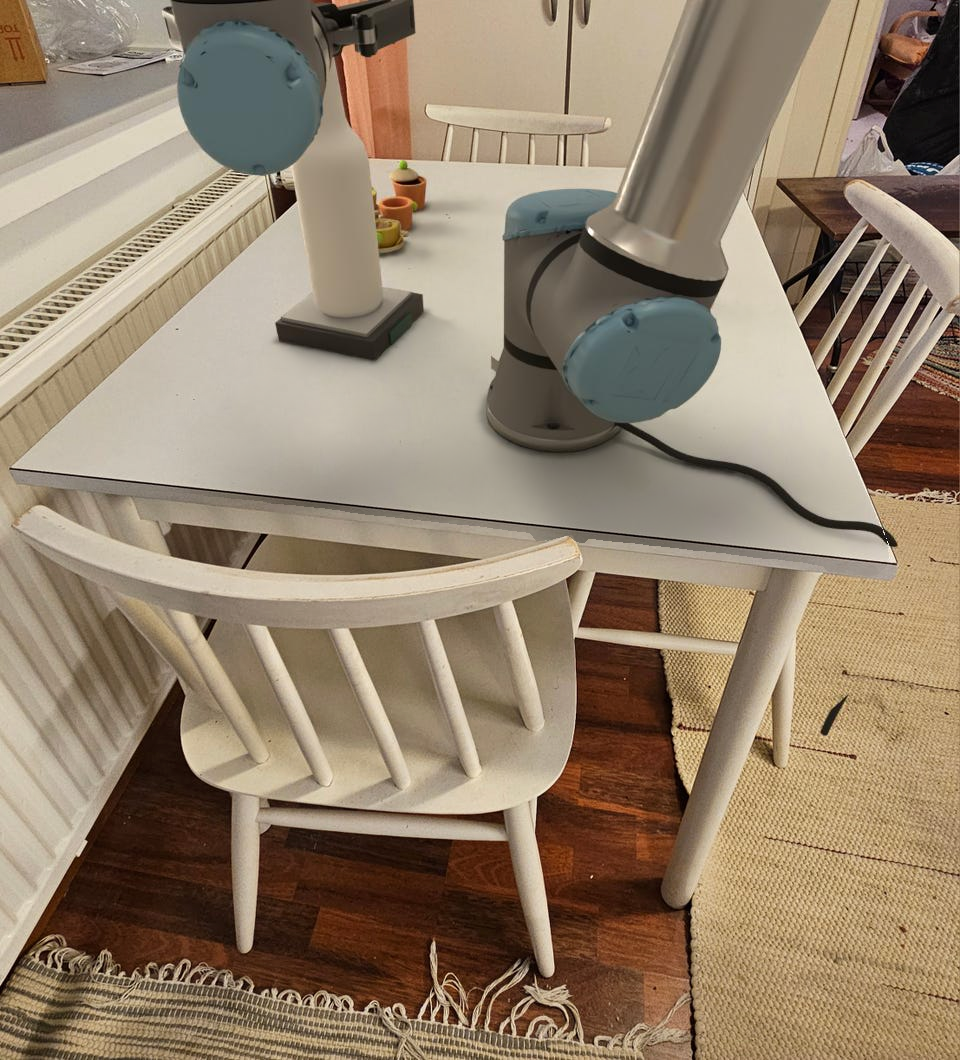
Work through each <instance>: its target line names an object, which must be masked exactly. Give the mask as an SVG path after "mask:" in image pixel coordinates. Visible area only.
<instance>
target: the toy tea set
mask: <svg viewBox="0 0 960 1060" xmlns="http://www.w3.org/2000/svg"><path fill="white" fill-rule="evenodd" d="M408 165H409V164H408V162H407V161H406V160H404V159H403V160H400V161H399V162H398V167H399V168H396V169H394V170H392V171H391V173H390V174H389V176H388V177H389V180H391V181H392V185H393V189H394V194H395V196H389V197H385V198H382V199H381V200H379V201H378V203H377V198H378V197H377V194H378V193H377V190H376V189H375V188H374V187H373V186H372V194H373V204H374V213H375V217H377V216H378V218H375V222H376V232H377V241H378V251H379V254H386V253H392V252H395V251H398V250H399V249H401V248H402V247H404V245H405V239H404V238H409V236H410V232H409V231H408V230H409V229H410V228H411V227H412V226H413V212H416V211H419V210H422V209H423V208H424V207H425V205H426V192H427V179H426V177H424V176H422V175H419V174H418V172H417V171H416V170H415V169H413V168H410V167H408Z"/></svg>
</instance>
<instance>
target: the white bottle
mask: <svg viewBox="0 0 960 1060" xmlns="http://www.w3.org/2000/svg"><path fill="white" fill-rule="evenodd" d="M320 123H321V125H320V127H319V128H318V133H317V134H316V135H315V136H314V140H313V142H312V143H311V144H310V145H309V146H308V148H307V150H306V151H305V152H304V154H303V155H302V157H301V158H300V159H299V160H298V161H297V162H295V163H294V164H293V165H291V166H290V167H291V173H292V179H293V184H294V191H295V197H296V202H297V209H298V214H299V219H300V226H301V232H302V236H303V243H304V248H305V255H306V260H307V265H308V266H307V267H308V272H309V278H310V284H311V289H312V292H313V296H314V301H315V304H316V305H317V306H318V308H319V309H320V310H321V311H322V312H323V313H325V314H327V315H329V316H333V317H338V318H352V317H358V316H363V315H366V314H368V313H371V312H373V311H374V310H375V309H377V307H378V306H379V304H380V302H381V300H382V298H383V289H382V287H383V281H382V271H381V261H380V253H379V251H378V241H377V232H376V222H375V219H376V216H375V213H374V204H373V194H372V187H373V185H372V177H371V166H370V158H369V155H368V152H367V149H366V146H365V143H364V142H363V140H362V138H361V137H360V136H359V135H358V134H357V133H356V132H355V130H353V128H352V127H351V126H350V123H349V122H348V119H347V117H346V112H345V107H344V101H343V96H342V91H341V86H340V82H339V75H338V71H337V64H336V60H335V57H332V63H331V67H330V72H329V78H328V81H327V85H326V89H325V93H324V98H323V116H322V117H321V122H320Z"/></svg>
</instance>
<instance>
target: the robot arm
mask: <svg viewBox="0 0 960 1060" xmlns="http://www.w3.org/2000/svg"><path fill="white" fill-rule="evenodd" d="M169 1H170V5H169V6H165V7H163V8H161V13H162V17H163V20H164V25H165V29H166V31H167V37H168V40H169V44H170V46H171V47H173V48H175V49H176V50H178V51H180V52H182V58H181V60H180V64H179V66H178V69H179V72H178V77H177V83H176V94H177V103H178V108H179V111H180V114H181V117H182V120H183V123H184V125H185V126H186V127H185V128H186V129H187V130H188V133H189V134H190V136H191V137H192V139H193V140H194V141H195V143H196V144H197V145H198V146H199V148H200V149H201V150H202V151H203V152H204V153H205V154H206V155H207V156H209V158H211V159H212V160H213V161H215V162H217V163H218V165H221V166H223V167H225V168H226V169H229V170H231V171H234V172H237V173H239V174H243V175H249V176H260V177H265V176H269V175H274V174H277V173H280V172H282V171H285V170H286V169H289V168H290V167H291V165H293V164H294V163H295V162H297V161H298V160H299V159H300V158H301V157H302V155H303V154H304V152H305V151H306V150H307V148H308V146H309V145H310V144H311V143H312V142H313V140H314V136H315V135H316V134H317V133H318V128H319V127H320V125H321V123H320V122H321V117H322V116H323V98H324V93H325V89H326V85H327V81H328V78H329V72H330V67H331V63H332V57H334V58H335V57H339V56H341V55H342V53H343V51H344V50H343V49H344V48H345V47H348V46H351V45H354V52H355V53H358V54H359V55H360V56H361V57H363V58H371V57H372V56H376V55H377V53H378V51H379V50H381V49H383V48H385V47H388V46H390V45H395V44H396V43H397V42H400V41H402V40H405V39H407V38H408V37H410V36H411V37H412V36H413V35H415V34H416V32H417V31H416V18H415V5H414V4H415V3H414V0H364V1H358V2H354V3H349V4H344V5H340V6H337V4H335V3H333V2H332V3H330V2H317V3H314V1H312V0H169ZM831 1H832V0H686V2H685V4H684V7H683V10H682V13H681V15H680V19H679V21H678V22H677V23H678V24H677V27H676V28H675V32H674V34H673V38H672V40H671V43H670V45H669V49H668V50H667V54H666V57H665V59H664V62H663V65H662V68H661V71H660V73H659V76H658V78H657V82H656V84H655V87H654V90H653V92H652V95H651V99H650V102H649V104H648V106H647V109H646V112H645V115H644V118H643V121H642V123H641V126H640V129H639V132H638V134H637V137H636V139H635V143H634V146H633V148H632V150H631V151H632V152H631V153H630V156H629V160H628V162H627V164H626V168H625V170H624V173H623V176H622V179H621V182H620V184H619V187H618V190H617V192H614V191H611V190H605V189H598V188H597V189H595V188H561V189H559V188H558V189H552V190H550V189H549V190H543V191H537V192H533V193H528V194H526V195H525V194H524V195H523V196H521V197H518V198H517V199H515V200H514V201H513V202H511V203H510V205H509V206H508V207H507V210H506V212H505V221H504V222H505V223H504V233H503V234H502V237H501V238H502V241H503V245H504V246H503V258H504V259H503V348H502V351H501V354H500V357H499V360H498V359H497V358H495V357H493V356H492V355H491V356H490V369H491V370H493V372H495V376H494V377H493V379H492V380H491V382H490V384H489V387H488V389H487V394H486V416H487V419H488V422H489V424H490V425H491V426H492V428H493V429H494V430H495V431H496V432H497V433H498V434H499V435H501V436H502V437H504V438H505V439H507V440H509V441H510V442H512V443H514V444H516V445H519V446H522V447H526V448H528V449H534V450H538V451H545V452H558V453H559V452H574V451H581V450H585V449H586V450H587V449H589V448H593V447H597V446H598V445H601V444H603V443H605V442H607V441H609V440H610V439H612V438H613V437H614V436H615V435H617V434H618V432H619V431H620V430H624V431H626V432H628V433H630V434H631V435H634V436H635V437H637V438H639V439H641V440H642V441H645V442H647V443H648V444H650V445H651V446H653V447H655V448H656V449H658V450H659V451H661V452H662V453H664V454H666V455H668V456H669V457H671V458H673V459H676V460H678V461H681V462H684V463H687V464H690V465H693V466H699V467H704V468H709V469H715V470H716V469H717V470H724V471H729V472H734V473H740V474H742V475H745V476H748V477H750V478H752V479H755V480H757V481H758V482H760V483H762V484H764V485H765V486H766V487H768V488H769V489H770V490H771V491H772V492H774V494H775V495H777V496H778V498H779V499H780V500H781V501H782V502H783V503H784V504H785V505H786V506H787V507H788V508H789V509H790V510H792V511H793V512H794V513H796V514H797V515H798V516H800V517H801V518H803V519H805V520H806V521H808V522H810V523H812V524H814V525H817V526H819V527H823V528H827V529H833V530H843V531H844V530H846V531H861V532H867V533H871V534H874V535H876V536H877V537H879V538H880V540H882V541H883V542H884V543H885V544H886V545H887V546H889V547H891V548H897V547H899V544H898V542H897V541H896V538H895V537H894V536H893V535H892V534H891V533H890V531H888V530H887V529H886V528H884V527H882V526H880V525H877V524H875V523H872V522H867V521H861V520H860V521H859V520H858V521H857V520H842V519H841V520H838V519H830V518H827V517H823V516H820V515H818V514H816V513H814V512H812V511H810V510H809V509H807V508H806V507H805V506H803V505H801V503H799V502H798V501H797V500H796V499H795V498H794V497H792V495H791V494H789V492H787V490H785V488H784V487H783V486H782V485H780V483H778V482H777V481H776V480H774V479H773V478H771V477H770V476H769V475H767V474H765V473H764V472H761V471H759V470H757V469H755V468H752V467H750V466H746V465H744V464H740V463H736V462H730V461H723V460H716V459H711V458H710V459H709V458H703V457H699V456H695V455H691V454H688V453H685V452H682V451H680V450H678V449H675V448H673V447H672V446H670V445H668V444H667V443H665V442H664V441H662V440H660V439H659V438H657V437H655V436H653V435H652V434H650V433H648V432H647V431H645V430H643V429H641V428H640V427H638V426H635V425H633V424H636V423H643V422H646V421H647V422H648V421H650V420H654V419H657V418H660V417H662V416H663V415H664V414H666V413H667V412H668V411H671V410H676V409H678V408H680V407H681V406H683V405H684V404H686V402H688V401H689V400H691V399H692V398H693V397H694V396H695V395H696V394H697V393H698V392H699V391H700V390H701V389H702V388H703V387H704V385H705V384H706V383H707V382H708V380H709V379H710V377H712V375H713V373H714V370H715V369H716V367H717V364H718V362H719V359H720V357H721V350H722V337H721V335H720V333H719V325H718V321H717V319H716V317H714V315H713V314H712V311H711V309H712V307H713V305H714V303H715V301H716V300H717V297H718V295H719V292H720V291H721V289H722V286H723V284H724V282H725V280H726V278H727V276H728V273H729V265H728V262H727V259H726V256H725V253H724V250H723V247H722V242H721V241H722V239H723V237H724V234H725V232H726V231H727V229H728V226H729V225H730V222H731V220H732V218H733V216H734V213H735V210H736V209H737V206H738V204H739V202H740V199H741V198H742V195H743V193H744V192H745V189H746V186H747V184H748V182H749V181H750V178H751V176H752V173H753V171H754V169H755V167H756V164H757V163H758V161H759V158H760V156H761V154H762V152H763V149H764V148H765V145H766V143H767V141H768V138H769V137H770V135H771V132H772V129H773V128H774V126H775V123H776V122H777V120H778V117H779V116H780V112H781V111H782V108H783V106H784V103H785V101H786V100H787V98H788V95H789V93H790V91H791V88H792V86H793V84H794V82H795V80H796V78H797V75H798V73H799V71H800V68H801V67H802V64H803V62H804V60H805V58H806V56H807V54H808V51H809V50H810V47H811V45H812V42H813V40H814V38H815V36H816V34H817V32H818V31H819V30H818V29H819V28H820V25H821V23H822V22H823V19H824V16H825V14H826V12H827V10H828V8H829V5H830V3H831ZM882 528H883V529H882ZM883 530H884V532H885V535H884V533H883ZM886 538H887V539H886ZM887 541H888V543H889V545H888V543H887ZM849 695H850V693H847V694H846V695H845V696H844V697H843V698H842V699H841V700H840V701H838V703H836V704H835V705H834V706H833V707H832V708H831V709H830V710H829V712H828V714H827V716H826V718H825V720H824V722H823V724H822V726H821V728H820V731H819V733H820V734H821V736H825V737H827V736H828V735H829V733H830V731H831V729H832V727H833V725H834V722H835V721H836V719H837V717H838V715H839V713H840V711H841V710H842V707H843V706H844V704H845V702H846V700H847V699H848V697H849Z"/></svg>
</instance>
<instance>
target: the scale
mask: <svg viewBox="0 0 960 1060" xmlns="http://www.w3.org/2000/svg"><path fill="white" fill-rule="evenodd" d="M382 289H383V298H382V300H381V302H380V304H379V306H378V307H377V309H375V310H374V311H373V312H371V313H368V314H366V315H363V316H358V317H352V318H338V317H333V316H329V315H327V314H325V313H323V312H322V311H321V310H320V309H319V308H318V306H317V305H316V304H315V301H314V296H313V291H312V292H310V293H309V294H308V295H307V296H305V297H304V298H303V299H301V300H300V301H299V302H297V304H295V305H294V306H293V307H291V308H290V309H288V310H286V312H284V313H283V314H281V316H280V318H279V319H278V320H277V321H275V322H274V324H275V329H276V333H277V339H278V341H280V342H285V343H289V344H294V345H299V346H304V347H307V348H312V349H313V348H314V349H318V350H323V351H327V352H328V351H329V352H333V353H338V354H343V355H348V356H353V357H358V358H362V359H368V360H373V361H376V360H377V359H378V358H379V357H380V356H381V355H382V354H383V353H384V352H385V351H386V350H387V349H388V348H389V347H390V346H393V344H395V342H397V340H399V338H400V337H402V336H403V334H404V333H406V331H408V330H409V328H410V327H411V326H412V325H413V323H414V322H415V321H416V320H417V319H418V318H419V317H420V316H421V315H422V314H423V313H424V312H425V310H424V309H425V308H424V295H423V293H417V292H412V291H409V290H403V289H399V288H392V287H388V286H387V287H386V286H382Z"/></svg>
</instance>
